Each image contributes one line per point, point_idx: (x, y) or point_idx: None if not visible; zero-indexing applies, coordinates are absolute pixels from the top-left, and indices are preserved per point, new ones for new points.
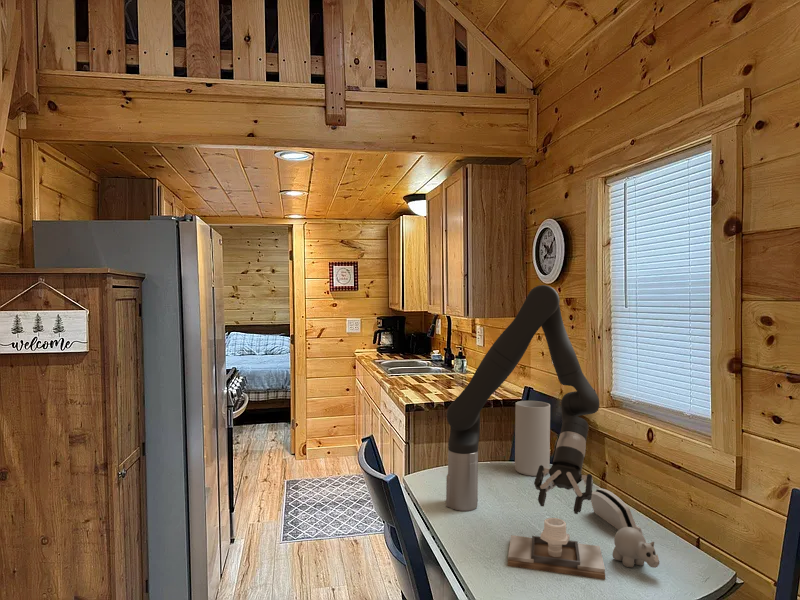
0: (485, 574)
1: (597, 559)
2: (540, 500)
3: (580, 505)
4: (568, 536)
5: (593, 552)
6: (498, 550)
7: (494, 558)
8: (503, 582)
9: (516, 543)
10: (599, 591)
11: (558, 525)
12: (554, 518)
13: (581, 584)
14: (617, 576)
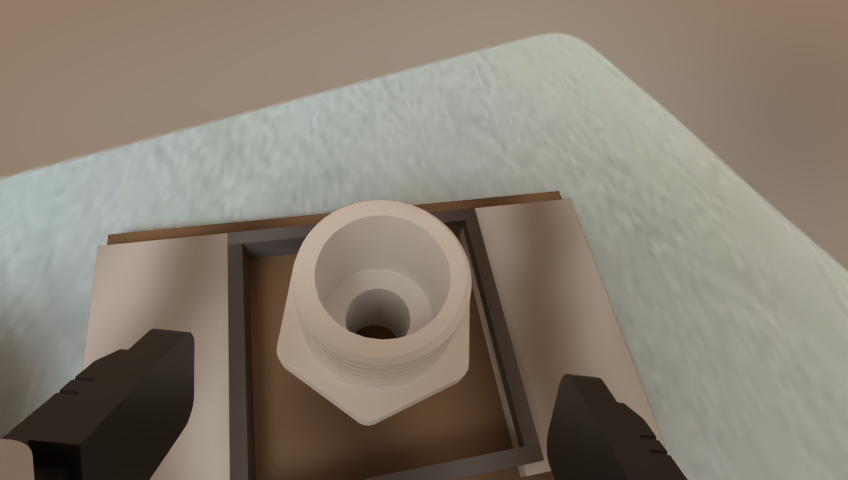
0: (595, 121)
1: (119, 343)
2: (599, 382)
3: (72, 381)
4: (284, 326)
5: None
6: (648, 320)
7: (625, 239)
8: (520, 96)
9: (591, 344)
10: (164, 146)
11: (350, 218)
12: (400, 341)
13: (237, 170)
14: (41, 297)
